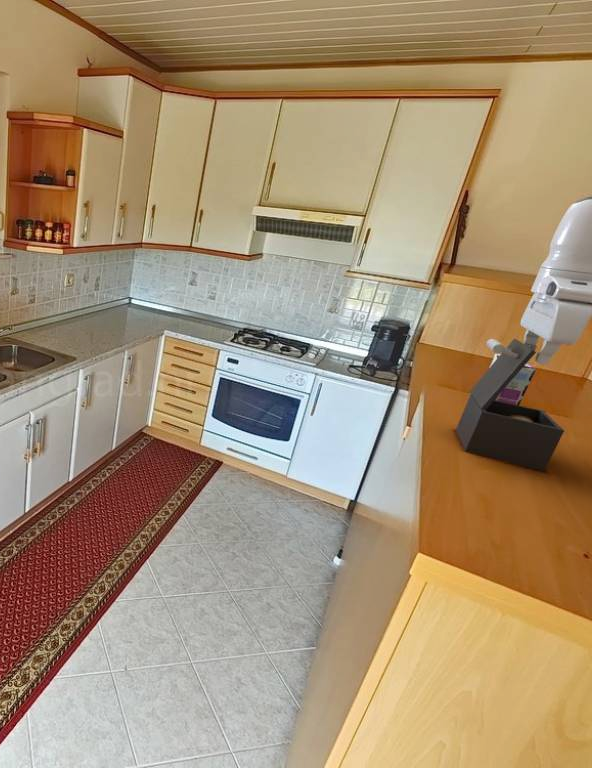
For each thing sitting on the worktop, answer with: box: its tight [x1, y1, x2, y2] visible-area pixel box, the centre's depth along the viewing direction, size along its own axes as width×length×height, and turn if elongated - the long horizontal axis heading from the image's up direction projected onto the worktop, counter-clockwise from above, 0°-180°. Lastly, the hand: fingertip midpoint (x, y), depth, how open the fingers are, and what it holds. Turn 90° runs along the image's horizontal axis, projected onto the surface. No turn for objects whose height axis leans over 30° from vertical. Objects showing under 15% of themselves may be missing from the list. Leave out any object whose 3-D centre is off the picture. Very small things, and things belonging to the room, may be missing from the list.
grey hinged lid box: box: [455, 394, 565, 473], centre depth 100 cm, size 13×13×9 cm
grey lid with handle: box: [469, 338, 537, 410], centre depth 99 cm, size 13×13×5 cm
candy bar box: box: [488, 353, 537, 405], centre depth 112 cm, size 11×5×16 cm, turn 154°
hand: (533, 357), depth 95 cm, fingers open, 8 cm apart
